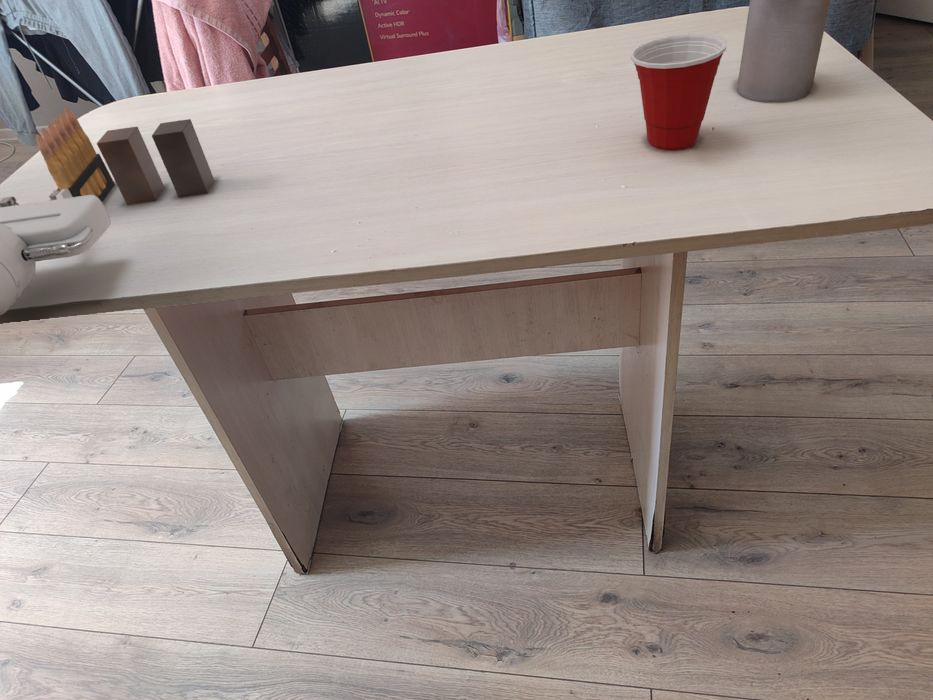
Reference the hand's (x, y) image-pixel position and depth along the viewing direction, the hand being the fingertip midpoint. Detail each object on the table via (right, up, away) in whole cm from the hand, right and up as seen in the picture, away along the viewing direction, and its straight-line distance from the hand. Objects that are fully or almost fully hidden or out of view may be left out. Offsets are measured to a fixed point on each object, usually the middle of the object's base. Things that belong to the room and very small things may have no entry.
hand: (38, 198), depth 79 cm
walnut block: (+7, +3, +12) cm, 15 cm away
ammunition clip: (0, +2, +13) cm, 13 cm away
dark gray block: (+14, +4, +12) cm, 19 cm away
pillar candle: (+93, +19, +16) cm, 96 cm away
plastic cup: (+76, +8, +7) cm, 77 cm away
